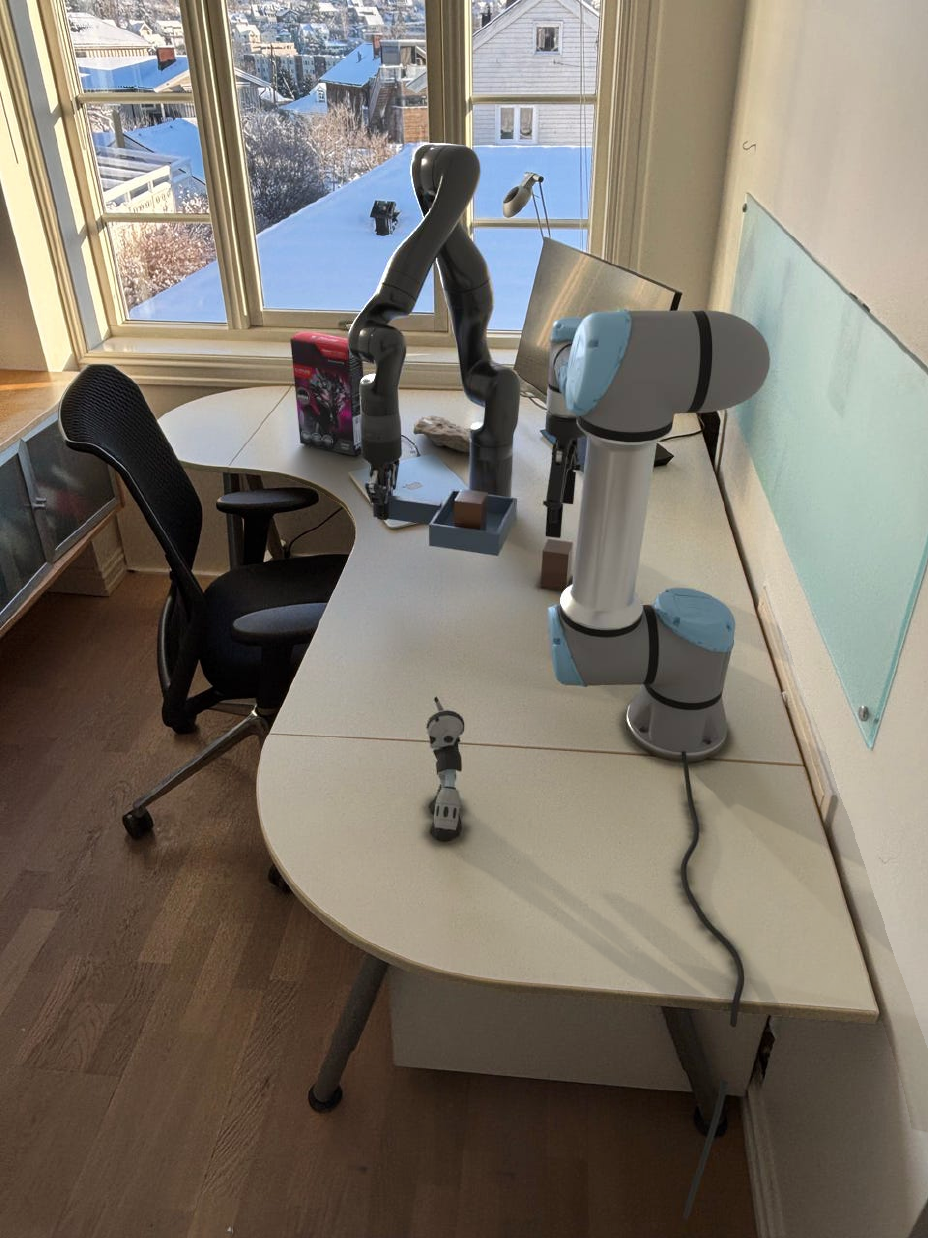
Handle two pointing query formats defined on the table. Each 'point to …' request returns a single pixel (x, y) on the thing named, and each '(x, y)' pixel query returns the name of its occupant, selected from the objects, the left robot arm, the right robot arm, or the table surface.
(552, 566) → the walnut block
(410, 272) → the left robot arm
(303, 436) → the graphics card box
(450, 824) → the robot
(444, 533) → the tray
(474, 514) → the walnut block
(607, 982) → the table surface
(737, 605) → the table surface
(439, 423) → the stone
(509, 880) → the table surface
